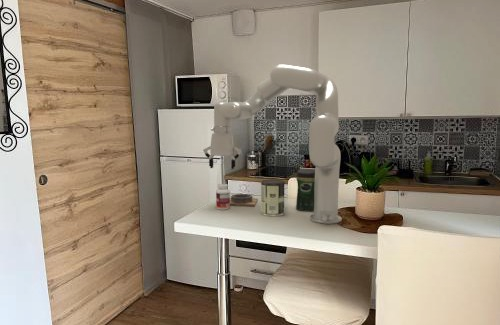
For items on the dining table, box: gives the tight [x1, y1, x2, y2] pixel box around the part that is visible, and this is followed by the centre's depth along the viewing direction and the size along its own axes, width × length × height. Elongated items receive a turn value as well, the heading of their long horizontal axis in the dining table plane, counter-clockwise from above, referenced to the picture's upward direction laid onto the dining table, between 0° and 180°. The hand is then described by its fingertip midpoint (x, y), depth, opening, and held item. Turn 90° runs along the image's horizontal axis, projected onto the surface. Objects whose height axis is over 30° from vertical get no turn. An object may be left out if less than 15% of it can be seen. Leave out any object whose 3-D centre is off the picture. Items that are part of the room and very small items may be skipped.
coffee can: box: [260, 179, 286, 217], centre depth 159 cm, size 10×10×14 cm
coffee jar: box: [295, 168, 315, 212], centre depth 166 cm, size 10×8×19 cm
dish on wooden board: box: [230, 193, 258, 208], centre depth 179 cm, size 14×14×4 cm
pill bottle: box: [215, 183, 231, 211], centre depth 167 cm, size 6×6×11 cm
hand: (222, 168), depth 166 cm, fingers open, 9 cm apart
